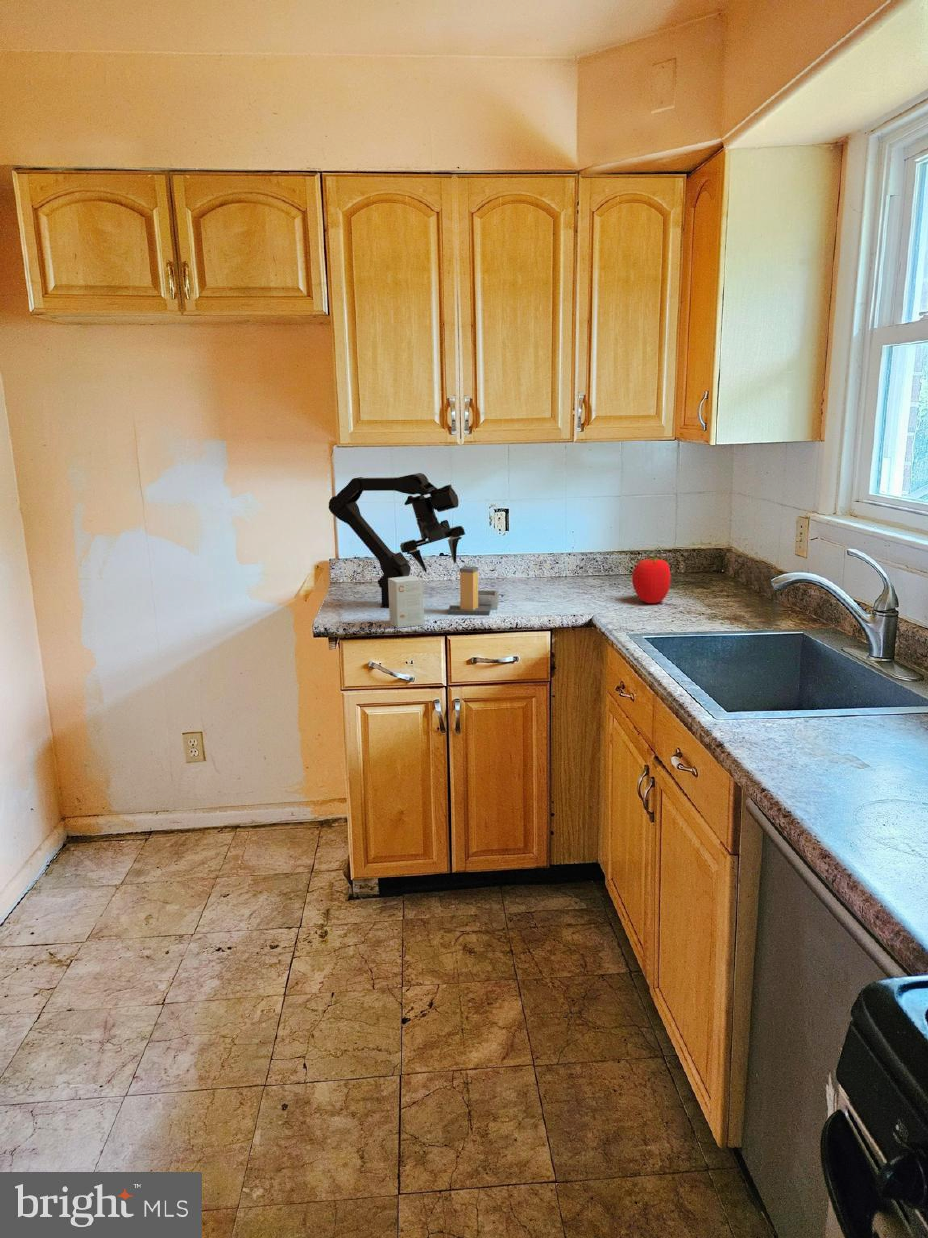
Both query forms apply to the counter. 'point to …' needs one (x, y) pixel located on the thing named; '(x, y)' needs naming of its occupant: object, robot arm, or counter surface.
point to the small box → (406, 601)
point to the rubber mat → (478, 611)
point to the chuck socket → (488, 598)
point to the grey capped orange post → (469, 588)
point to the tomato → (651, 580)
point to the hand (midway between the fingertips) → (440, 567)
